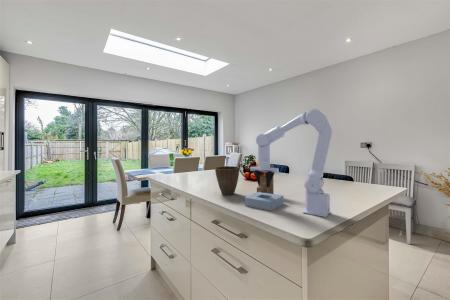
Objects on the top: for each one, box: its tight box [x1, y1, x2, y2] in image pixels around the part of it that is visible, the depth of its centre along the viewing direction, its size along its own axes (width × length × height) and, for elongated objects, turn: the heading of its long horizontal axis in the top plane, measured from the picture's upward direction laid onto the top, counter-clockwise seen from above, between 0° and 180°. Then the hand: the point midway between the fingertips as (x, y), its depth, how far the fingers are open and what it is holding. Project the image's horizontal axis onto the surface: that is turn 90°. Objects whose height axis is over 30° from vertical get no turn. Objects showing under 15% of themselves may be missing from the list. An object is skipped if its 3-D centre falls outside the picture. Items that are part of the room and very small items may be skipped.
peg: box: [260, 174, 268, 193], centre depth 101 cm, size 4×4×8 cm
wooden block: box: [256, 163, 275, 194], centre depth 119 cm, size 9×4×18 cm, turn 65°
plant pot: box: [214, 166, 240, 196], centre depth 124 cm, size 15×15×16 cm
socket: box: [244, 191, 284, 212], centre depth 101 cm, size 14×14×4 cm
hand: (264, 186), depth 101 cm, fingers closed on peg, 4 cm apart
